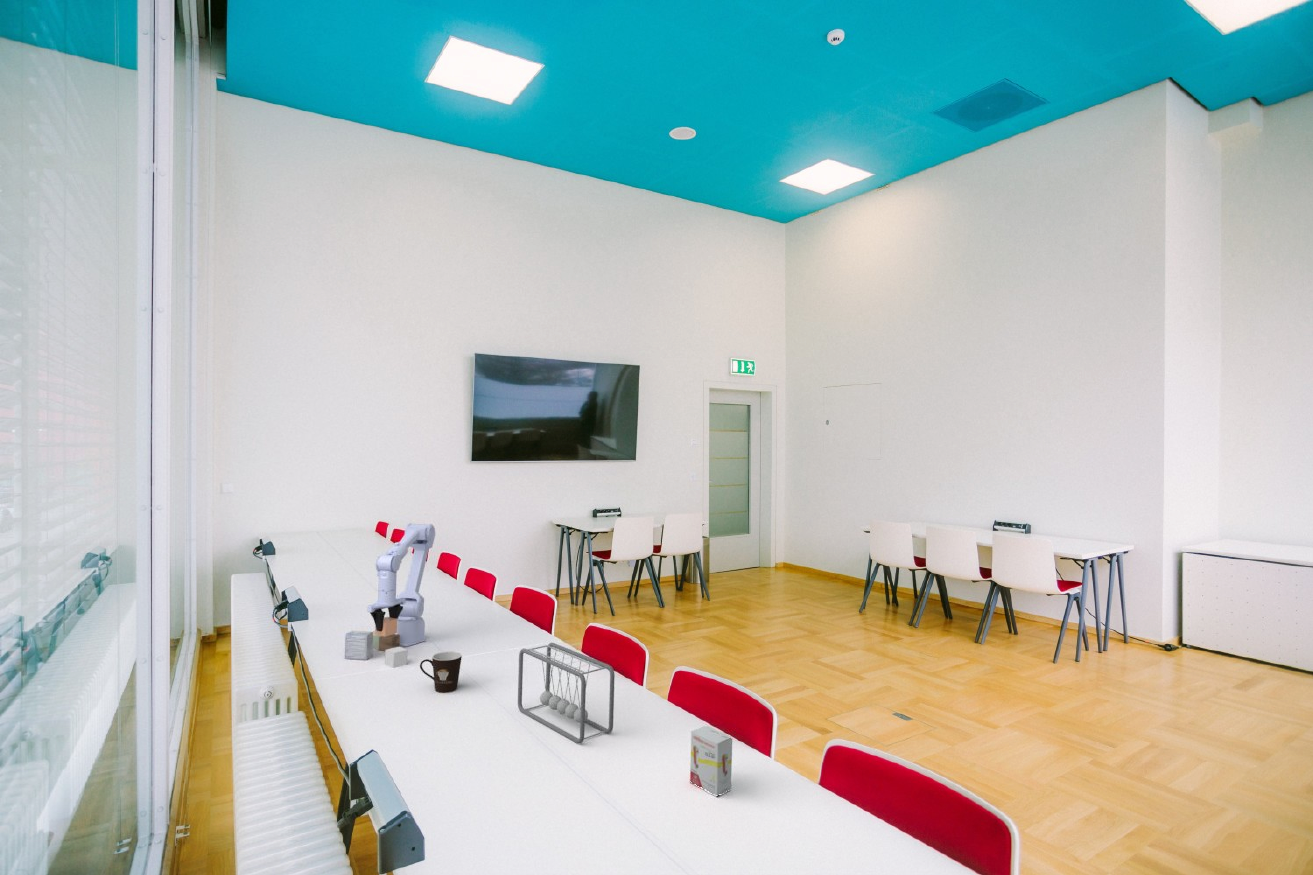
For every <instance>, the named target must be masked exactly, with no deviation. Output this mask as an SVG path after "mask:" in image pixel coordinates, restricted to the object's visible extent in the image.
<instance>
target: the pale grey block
mask: <svg viewBox="0 0 1313 875" xmlns="http://www.w3.org/2000/svg"><path fill="white" fill-rule="evenodd" d="M408 651H409V650H408V649H407V648H405V647H403V646H400V647H395V648H391V649H387V650H386V652H385V654H384V655H385V661H384V662H385V663H384V664H385V666H388V667H389V668H391V669H392V668H393V669H396V668H400V667H403V666H407V665H408V654H409V652H408Z"/></svg>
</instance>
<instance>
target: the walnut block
mask: <svg viewBox="0 0 1313 875" xmlns="http://www.w3.org/2000/svg"><path fill="white" fill-rule="evenodd" d="M395 647H401V645H400V634H397V633H396V634H393V635H389V636H386V637H385V636H380V637H379V649H378V651H379V652H385V653H386V650H387V649H391V648H395Z"/></svg>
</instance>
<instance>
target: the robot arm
mask: <svg viewBox="0 0 1313 875" xmlns="http://www.w3.org/2000/svg"><path fill="white" fill-rule="evenodd" d="M435 538H436V528H435V525H433V524H432V523H430V524H427V523H426V524H425V523H411V522H409V523H408V524H407V525H406V526H405V527H404V535H403V536H402V538H401V539H400V541H398V542H394V543H393V545H392V546H391V547H390V548H389V549H388V550H387V551H386V552H385V553H384V554H380V555H379V556H378V557H377V559H376V563H375V569H376V573H377V577H378V595H377V596H378V597H377V601H376V602H375V603H372V604H371V605H370V604H369V605H367V606H366V608H367V610H366V612H367V613H369V614H370V616H371V617H372V619H373V622H374V625H376V630H377V631H382V629H383V620H384V617H386V616H385V615H386V611H383V610H384V609H387V612H388V615H389V616H388V617H391V618H396V619H397V633H396V634H400V647H404V648H405V647H406V648H407V647H410V646H413V645H416V644H419V643H422V642H425V641H427V639H426V638H425V632H426V631H425V627H426V625H425V623H426V622H425V620H424V618H423V617H422V615H423V614H424V611H425V606H424V605H425V598H424V597H423V596H422V595H421V594H420V593H419V592H420V588H421V584H422V579H423V575H424V571H425V567H426V563H427V562H426V561H427V558H428V554H429V549H431V548H433V545H434V542H435ZM410 547H411V548H412V549H413V555H412V559H411V562H410V563H411V564H410V567H409V571H408V576H407V580H406V584H405V588H404V590H403V591H402V592H400V593H399V594H398V595H397V574H398V573H397V572H398V571H399V570H400V567H401V564H402V562H403V559H404V558H405V557H406V556H407V554H408V552H409V548H410Z"/></svg>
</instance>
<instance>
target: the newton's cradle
mask: <svg viewBox="0 0 1313 875" xmlns="http://www.w3.org/2000/svg"><path fill="white" fill-rule="evenodd" d="M542 648H543V649H544V648H546V652H545V653H544V652H542V653H541V652H539V651H537V649H542ZM551 649H552V650H551ZM553 651H554V652H555V654H554V655H553V656H551V655H552V653H551V652H553ZM557 652H559V653H561V654H559V656H561V655H562V654H563V657H562V659H556V657H557V656H558V654H557ZM524 654H525V655H528V656H530V657H532V658H535V659H538V660H540V661H541V662H542V665H544V663H546V664H545V665H546V669H545V668H544V667H542V670H543V671H542V672H543V674H545V673H546V674H545V675H546V676H545V675H543V679H544V682H545V684H544V689H545V691H544V692H542V693H541V694H540V697H539V701H540V703H541V704H539V705H535V706H531V707H529V708H528V707H527V708H524V707H523V677H524V676H523V675H524V674H523V672H524ZM565 655H567V656H570V657H569V659H570V658H571V660H570V661H571V662H569V663H565V662H564V660H566V659H568V657H567V658H565ZM554 656H555V657H554ZM573 658H574V659H577V661H573ZM561 660H562V661H561ZM578 662H579V663H580V664H579V666H576V667H574V666H572V664H574V663H578ZM582 662H584V663H586V664H584V665H583V667H584V666H588V670H587V671H583V670H581V667H582V665H581V664H582ZM569 664H570V665H569ZM590 666H594V667H597V669H593V670H590ZM554 667H555V668H557V669H558V670H560V671H558V675H559V679H558V685H557V690H556V692H555V691H553V693H552V691H550V688H551V687H550V686H551V681H552V683H554V679H553V669H554ZM605 669H606V670H608V671H609V707H608V708H609V709H608V712H609V713H608V728H606V727H605V726H603V725H602V724H599V723H596V722H595V721H593V720H591V719H589V712H588V711H587V709H586V694H587V693H586V689H587V684H588V678H589V674H590V673H593V672H594V673H595V672H597V671H601V670H605ZM562 671H564V672H566V676H567V685H566V691H565V697H564V696H563V694H561V696H559V695H558V693H559V686H560V685H562V681H561V680H562V679H561V675H562ZM570 674H571V675H573V676H574V677H577V678H575V682H576V684H575V691H574V697H573V700H576V691H577V692H579V686H578V682H579V679H580V682H581V685H580V686H581V688H580V696H579V693H577V698H578V700H580V701H578V705H577V704H576V703H575V701H573V702H571V701H572V698H571V697H572V696H571V695H569V698H570V700H567V699H566V697H567V692H568V691H569V694H571V689H570V688H571V687H569V686H570V681H569V680H570ZM586 674H587V676H585V675H586ZM517 677H518V680H517V681H518V682H517V683H518V684H517V706H518V710H519V712H520V713H522V714H524V715H526V716H527V717H529V718H531V719H533V720H534V721H536V722H538V723H540V724H542V725H543V726H545V727H547V728H549V729H551V730H552V731H554V732H556V733H558V735H559V734H560V735H561V736H562V737H565V738H567V739H568V740H569V741H572V742H574V743H576V744H578V745H579V744H582V743H583V742H584V740H587V739H590V738H593V737H596V736H599V735H601V734H604V733H605V734H608V735H609V734H611V732H613V729H614V710H615V709H614V708H615V707H614V706H615V704H614V703H615V701H614V700H615V677H616V676H615V671H614V668H613V666H611V665H610V664H608V663H605V662H603V661H600V660H598V659H595V658H593V657H591V656H587V655H585V654H582V653H580V652H577V651H575V650H572V649H571V648H568V647H565V646H562V645H560V644H557V643H555V642H549V643H548V644H546V645H541V646H537V647H532V648H521V649H520V651H519V654H518V676H517ZM554 685H555V684H552V687H553V690H555V686H554ZM562 689H563V688H562V686H560V691H561V693H563V690H562ZM555 693H556V694H555ZM543 706H549V708H550V710H551V709H552V711H557V712H558V713H559V714H560V715H565V716H566V717H567V718H568V719H571V720H574V721H575V722H576V723H578V724H579V726H580V727H579V738H578V737H576V736H574V735H573V734H571V733H569V732H567V731H565V730H564V729H561V727H559V726H556V725H555V724H552V723H551V722H549V721H547V720H546V719H543V718H542V717H540V716H538V715H536V714H534V713H533V712H531V711H530V710H533V709H536V708H539V707H543ZM585 724H587V725H589V726H591V727H593V728H595V729H597V730H599V731H600V732H597V733H594V734H591V735H588V736H585V730H586V728H585V727H586V725H585Z"/></svg>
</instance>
